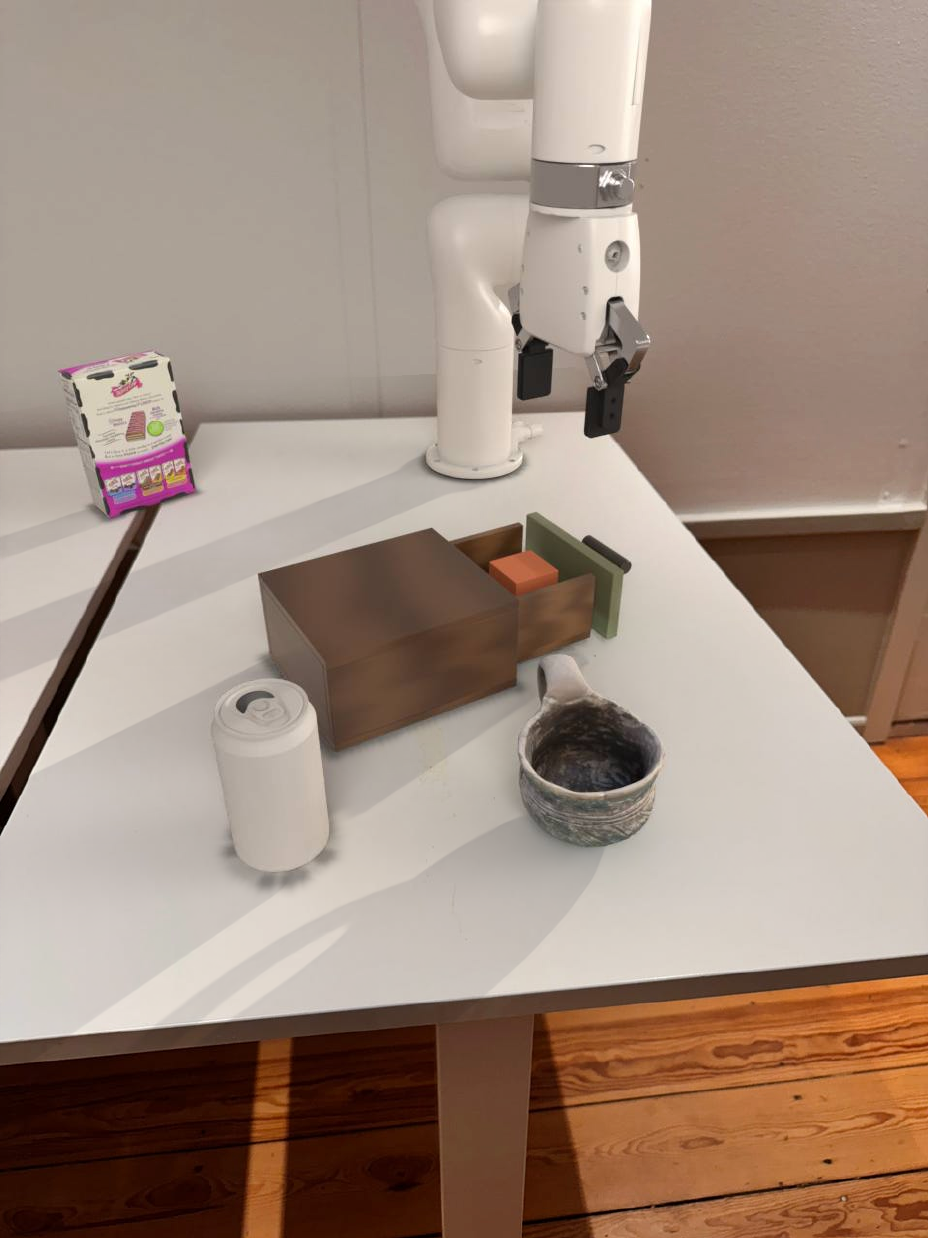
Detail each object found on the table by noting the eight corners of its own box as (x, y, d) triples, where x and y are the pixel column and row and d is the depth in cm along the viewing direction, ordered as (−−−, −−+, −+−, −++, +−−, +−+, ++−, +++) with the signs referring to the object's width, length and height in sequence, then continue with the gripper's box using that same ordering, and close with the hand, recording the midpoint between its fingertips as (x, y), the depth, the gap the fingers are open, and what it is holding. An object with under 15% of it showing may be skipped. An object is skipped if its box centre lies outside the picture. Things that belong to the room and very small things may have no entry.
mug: (558, 892, 56) (568, 776, 51) (471, 771, 66) (471, 662, 60) (680, 842, 60) (702, 728, 54) (581, 734, 69) (590, 628, 64)
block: (528, 591, 84) (530, 549, 81) (556, 613, 80) (558, 570, 78) (488, 603, 82) (489, 561, 79) (514, 627, 78) (516, 583, 76)
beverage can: (294, 795, 64) (275, 660, 57) (349, 843, 60) (335, 705, 53) (217, 842, 60) (186, 704, 53) (270, 896, 56) (245, 754, 50)
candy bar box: (178, 480, 110) (153, 348, 101) (197, 492, 107) (173, 357, 98) (90, 505, 104) (55, 367, 95) (107, 520, 101) (72, 378, 92)
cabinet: (433, 606, 85) (432, 527, 80) (516, 686, 75) (519, 599, 70) (269, 657, 78) (257, 573, 73) (335, 752, 68) (325, 661, 63)
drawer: (567, 561, 91) (571, 501, 87) (653, 623, 81) (662, 558, 77) (396, 613, 82) (393, 550, 79) (469, 689, 73) (469, 620, 69)
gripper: (703, 199, 59) (670, 441, 68) (556, 170, 71) (545, 378, 81) (613, 208, 56) (591, 460, 65) (476, 176, 68) (474, 391, 78)
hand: (566, 414), depth 73 cm, fingers open, 9 cm apart
